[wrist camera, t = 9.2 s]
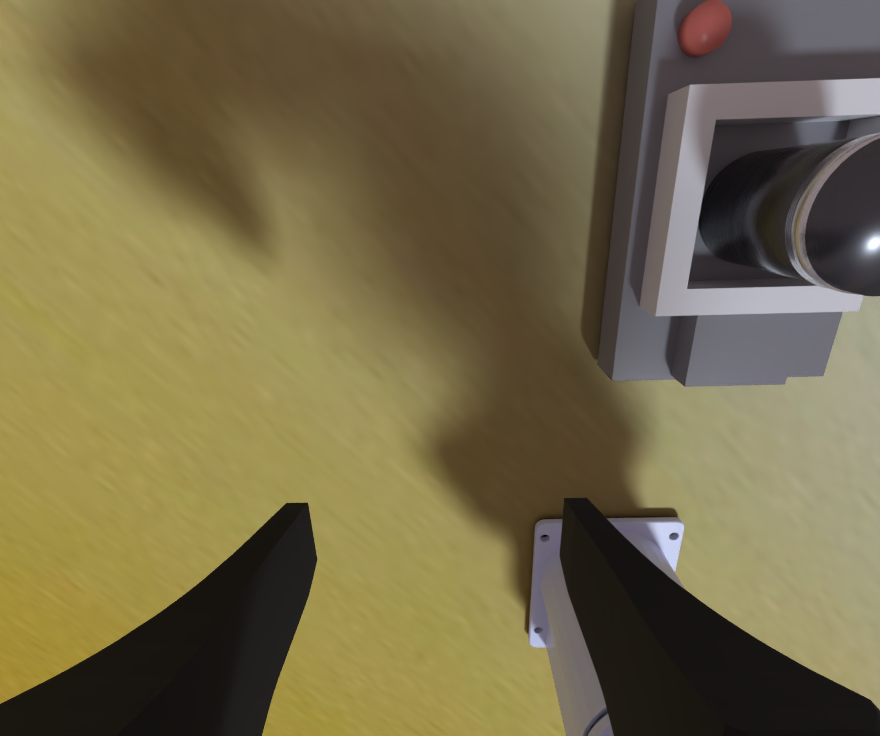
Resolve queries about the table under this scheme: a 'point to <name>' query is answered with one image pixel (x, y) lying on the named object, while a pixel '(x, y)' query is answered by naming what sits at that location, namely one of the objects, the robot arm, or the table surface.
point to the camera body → (701, 159)
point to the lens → (801, 213)
